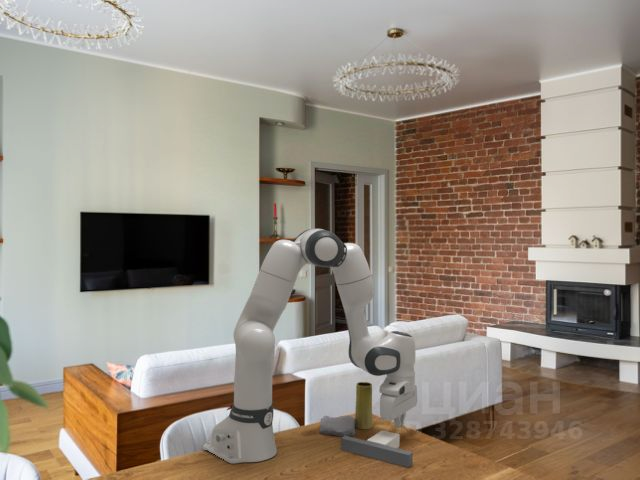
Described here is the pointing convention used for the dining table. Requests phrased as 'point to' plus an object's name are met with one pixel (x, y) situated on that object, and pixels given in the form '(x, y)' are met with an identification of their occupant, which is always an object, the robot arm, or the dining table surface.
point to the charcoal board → (377, 451)
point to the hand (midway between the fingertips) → (399, 427)
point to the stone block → (338, 425)
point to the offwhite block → (386, 439)
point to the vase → (363, 405)
